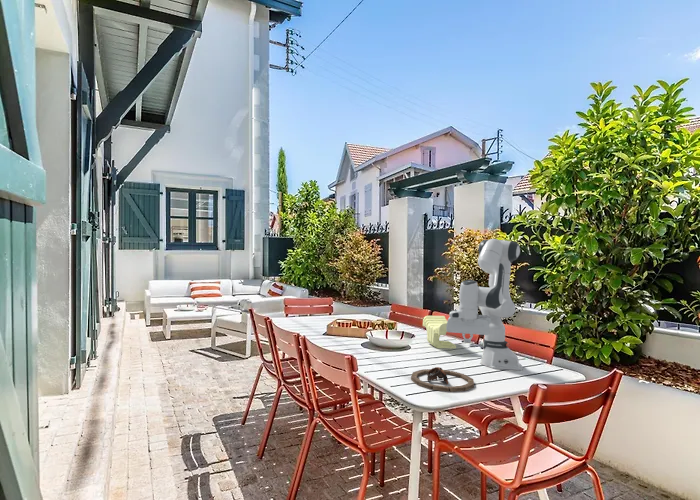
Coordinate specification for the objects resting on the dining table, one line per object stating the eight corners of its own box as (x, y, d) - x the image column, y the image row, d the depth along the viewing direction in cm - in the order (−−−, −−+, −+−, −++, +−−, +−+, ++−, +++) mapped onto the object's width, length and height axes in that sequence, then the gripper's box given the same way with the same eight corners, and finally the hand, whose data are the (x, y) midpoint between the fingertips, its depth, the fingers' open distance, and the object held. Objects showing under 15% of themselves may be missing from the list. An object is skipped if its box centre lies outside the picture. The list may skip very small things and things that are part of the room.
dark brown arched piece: (449, 388, 195) (441, 373, 194) (431, 393, 199) (423, 378, 198) (451, 374, 206) (443, 360, 205) (434, 380, 210) (426, 366, 209)
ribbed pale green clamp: (422, 340, 294) (423, 315, 294) (443, 340, 297) (444, 315, 297) (438, 351, 264) (439, 323, 264) (461, 351, 267) (462, 323, 267)
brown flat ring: (472, 376, 214) (472, 372, 214) (474, 394, 185) (474, 391, 185) (414, 369, 221) (415, 366, 221) (408, 386, 193) (408, 383, 193)
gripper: (490, 314, 201) (489, 343, 201) (446, 311, 206) (446, 339, 206) (491, 316, 194) (490, 346, 195) (446, 313, 200) (445, 342, 200)
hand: (467, 342), depth 200 cm, fingers closed
